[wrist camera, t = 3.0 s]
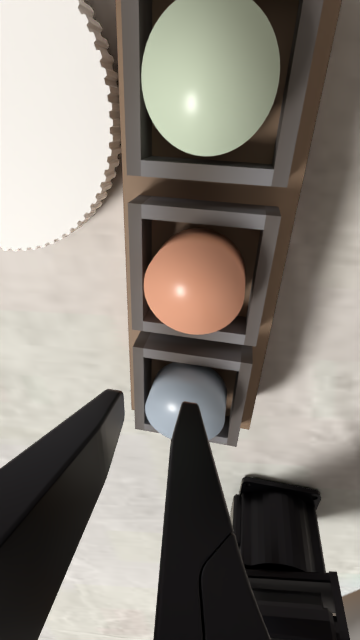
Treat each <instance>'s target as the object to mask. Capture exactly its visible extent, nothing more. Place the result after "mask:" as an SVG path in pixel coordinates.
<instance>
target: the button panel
mask: <svg viewBox="0 0 360 640" xmlns="http://www.w3.org/2000/svg"><path fill="white" fill-rule="evenodd" d="M174 1H176V0H115V2H116V27H117V52H118V77H119V102H120V128H121V153H122V178H123V203H124V228H125V254H126V279H127V304H128V329H129V355H130V380H131V405H132V410H135V429H139V430H145V431H151V432H156V433H159V432H158V431H157V430H156V429H155V428H154V427H153V426H152V425H151V424H150V422H149V421H148V419H147V416H146V413H145V405H146V401H147V398H148V396H149V393H150V390H151V387H152V385H153V382H154V379H155V377H156V375H157V373H158V372H159V371H160V370H161V369H162V368H163V367H164V366H166V365H168V364H170V363H173V362H179V363H186V364H192V365H199V366H206V367H210V368H212V369H213V370H214V371H216V372H217V373H218V374H219V375H220V376H221V378H222V379H223V381H224V383H225V385H226V388H227V400H226V412H225V422H224V426H223V428H222V430H221V431H220V433H219V434H218V435H216V436H215V437H214V438H212V439H210V440H209V442H213V443H218V444H224V445H230V446H235V447H236V446H237V441H238V436H239V431H240V428H243V429H249V427H250V423H251V418H252V414H253V409H254V404H255V400H256V395H257V390H258V386H259V381H260V377H261V372H262V367H263V363H264V358H265V353H266V349H267V344H268V340H269V335H270V330H271V326H272V321H273V316H274V312H275V307H276V303H277V298H278V293H279V289H280V284H281V279H282V275H283V270H284V266H285V261H286V256H287V252H288V247H289V242H290V238H291V233H292V229H293V224H294V219H295V215H296V210H297V205H298V201H299V196H300V191H301V187H302V182H303V178H304V173H305V168H306V164H307V159H308V154H309V150H310V145H311V141H312V136H313V131H314V127H315V122H316V117H317V113H318V108H319V104H320V99H321V94H322V90H323V85H324V80H325V76H326V71H327V67H328V62H329V57H330V53H331V48H332V43H333V39H334V34H335V30H336V25H337V20H338V16H339V11H340V6H341V2H342V0H253V1H254V2H255V3H256V4H257V5H258V6H259V7H260V8H261V10H262V11H263V12H264V14H265V15H266V16H267V18H268V20H269V22H270V24H271V26H272V28H273V31H274V33H275V36H276V40H277V44H278V48H279V56H280V76H279V84H278V89H277V93H276V97H275V100H274V103H273V105H272V107H271V110H270V112H269V114H268V116H267V117H266V119H265V121H264V122H263V124H262V125H261V127H260V128H259V129H258V131H257V132H256V133H255V134H254V135H253V136H252V137H251V138H250V139H249V140H247V141H246V142H245V143H244V144H242V145H241V146H239V147H238V148H236V149H234V150H232V151H230V152H227V153H224V154H221V155H216V156H197V155H193V154H189V153H186V152H184V151H182V150H180V149H178V148H176V147H175V146H173V145H172V144H171V143H170V142H168V141H167V140H166V139H165V138H164V137H163V136H162V135H161V134H160V132H159V131H158V129H157V128H156V127H155V125H154V123H153V122H152V120H151V118H150V116H149V113H148V111H147V108H146V105H145V101H144V97H143V91H142V81H141V73H142V61H143V55H144V51H145V47H146V44H147V41H148V38H149V36H150V33H151V31H152V29H153V27H154V26H155V24H156V22H157V21H158V19H159V18H160V16H161V15H162V14H163V12H164V11H165V10H166V9H167V8H168V7H169V6H170V5H171V4H172V3H173V2H174ZM193 228H204V229H209V230H213V231H216V232H218V233H220V234H222V235H224V236H225V237H227V238H228V239H229V240H231V241H232V242H233V243H234V244H235V246H236V247H237V248H238V250H239V251H240V253H241V255H242V257H243V260H244V264H245V271H246V277H245V297H244V302H243V305H242V308H241V310H240V312H239V313H238V315H237V316H236V317H235V319H234V320H233V321H232V322H231V323H230V324H228V325H227V326H226V327H224V328H222V329H220V330H218V331H216V332H213V333H209V334H202V335H194V334H186V333H182V332H179V331H176V330H174V329H172V328H170V327H168V326H167V325H165V324H164V323H163V322H161V321H160V320H159V319H158V318H157V317H156V316H155V314H154V313H153V312H152V310H151V309H150V307H149V305H148V303H147V300H146V298H145V293H144V278H145V273H146V270H147V268H148V266H149V264H150V262H151V261H152V260H153V258H154V257H155V255H156V254H157V253H158V251H159V250H160V248H161V247H162V246H163V244H164V243H165V242H166V241H167V240H168V239H169V238H170V237H172V236H173V235H175V234H177V233H178V232H181V231H183V230H187V229H193Z"/></svg>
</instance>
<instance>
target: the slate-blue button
mask: <svg viewBox="0 0 360 640" xmlns="http://www.w3.org/2000/svg"><path fill="white" fill-rule="evenodd" d="M226 400H227V388H226V385H225V383H224V381H223V379H222V378H221V376H220V375H219V374H218V373H217V372H216V371H214V370H213V369H212V368H210V367H206V366H199V365H192V364H186V363H179V362H173V363H170V364H168V365H166V366H164V367H163V368H162V369H161V370H160V371H159V372H158V373H157V375H156V377H155V379H154V382H153V385H152V387H151V390H150V393H149V396H148V398H147V401H146V405H145V413H146V416H147V419H148V421H149V422H150V424H151V425H152V426H153V427H154V428H155V429H156V430H157V431H158V432H159V433H161V434H162V435H164V436H166V437H168V438H170V439H172V435H173V431H174V428H175V424H176V421H177V417H178V414H179V410H180V407H181V403H182V402H183V401H186V402H193V403H197V404H198V405H199V408H200V412H201V415H202V419H203V423H204V426H205V430H206V433H207V437H208V440H210V439H212V438H214V437H215V436H216V435H218V434H219V433H220V431H221V430H222V428H223V426H224V422H225V412H226Z"/></svg>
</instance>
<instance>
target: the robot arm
mask: <svg viewBox="0 0 360 640" xmlns="http://www.w3.org/2000/svg"><path fill="white" fill-rule="evenodd" d="M124 415H125V412H124V396H123V392H122V391H118V390H112V389H107V390H105V391H104V392H102V393H101V394H100V395H98V396H97V397H96V398H94V399H93V400H91V401H90V402H89V403H87V404H86V405H85V406H83V407H82V408H81V409H79V410H78V411H77V412H75V413H74V414H73V415H71V416H70V417H69V418H67V419H66V420H65V421H63V422H62V423H61V424H59V425H58V426H57V427H55V428H54V429H53V430H51V431H50V432H49V433H47V434H46V435H45V436H43V437H42V438H41V439H39V440H38V441H37V442H35V443H34V444H33V445H31V446H30V447H28V448H27V449H26V450H24V451H23V452H22V453H20V454H19V455H18V456H16V457H15V458H14V459H12V460H11V461H10V462H8V463H7V464H6V465H4V466H3V467H2V468H0V640H38V638H39V635H40V633H41V631H42V628H43V626H44V624H45V621H46V619H47V617H48V614H49V612H50V610H51V607H52V605H53V603H54V600H55V598H56V596H57V593H58V591H59V589H60V586H61V584H62V582H63V579H64V577H65V575H66V572H67V570H68V567H69V565H70V563H71V560H72V558H73V556H74V553H75V551H76V549H77V546H78V544H79V542H80V539H81V537H82V535H83V532H84V530H85V528H86V525H87V523H88V521H89V518H90V516H91V514H92V511H93V509H94V507H95V504H96V502H97V500H98V497H99V495H100V493H101V490H102V488H103V485H104V483H105V480H106V478H107V475H108V471H109V468H110V465H111V462H112V458H113V455H114V452H115V448H116V445H117V442H118V439H119V435H120V432H121V429H122V425H123V422H124ZM320 500H321V495H320V492H319V491H317V490H314V489H308V488H303V487H298V486H292V485H287V484H282V483H276V482H271V481H266V480H260V479H255V478H250V477H245V478H243V479H242V482H241V487H240V491H239V495H238V494H236V495H235V496H234V498H233V503H232V508H231V515H230V516H229V512H228V508H227V505H226V501H225V498H224V494H223V491H222V487H221V483H220V480H219V476H218V473H217V469H216V465H215V462H214V458H213V455H212V451H211V448H210V444H209V440H208V437H207V433H206V430H205V426H204V423H203V419H202V415H201V412H200V408H199V405H198V404H197V403H193V402H186V401H183V402H182V403H181V407H180V410H179V414H178V417H177V421H176V424H175V428H174V431H173V435H172V439H171V445H170V455H169V467H168V478H167V490H166V501H165V513H164V524H163V536H162V547H161V559H160V570H159V582H158V593H157V605H156V616H155V628H154V639H153V640H350V638H349V632H348V628H347V622H346V617H345V612H344V606H343V602H342V596H341V591H340V586H339V581H338V576H337V572H332V571H329V573H326V570H325V564H324V558H323V552H322V546H321V540H320V534H319V528H318V521H317V515H316V509H317V507H318V504H319V502H320ZM332 613H336V616H333V614H332Z"/></svg>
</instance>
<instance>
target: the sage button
mask: <svg viewBox="0 0 360 640" xmlns="http://www.w3.org/2000/svg"><path fill="white" fill-rule="evenodd" d="M279 76H280V56H279V48H278V44H277V40H276V36H275V33H274V31H273V28H272V26H271V24H270V22H269V20H268V18H267V16H266V15H265V14H264V12H263V11H262V10H261V8H260V7H259V6H258V5H257V4H256V3H255V2H254V1H253V0H176V1H174V2H173V3H172V4H171V5H170V6H169V7H168V8H167V9H166V10H165V11H164V12H163V14H162V15H161V16H160V18H159V19H158V21H157V22H156V24H155V26H154V27H153V29H152V31H151V33H150V36H149V38H148V41H147V44H146V47H145V51H144V55H143V61H142V73H141V81H142V91H143V97H144V101H145V105H146V108H147V111H148V113H149V116H150V118H151V120H152V122H153V123H154V125H155V127H156V128H157V129H158V131H159V132H160V134H161V135H162V136H163V137H164V138H165V139H166V140H167V141H168V142H170V143H171V144H172V145H173V146H175V147H176V148H178V149H180V150H182V151H184V152H186V153H189V154H193V155H197V156H216V155H221V154H224V153H227V152H230V151H232V150H234V149H236V148H238V147H239V146H241V145H242V144H244V143H245V142H246V141H247V140H249V139H250V138H251V137H252V136H253V135H254V134H255V133H256V132H257V131H258V129H259V128H260V127H261V125H262V124H263V122H264V121H265V119H266V117H267V116H268V114H269V112H270V110H271V107H272V105H273V103H274V100H275V97H276V93H277V89H278V84H279Z"/></svg>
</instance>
